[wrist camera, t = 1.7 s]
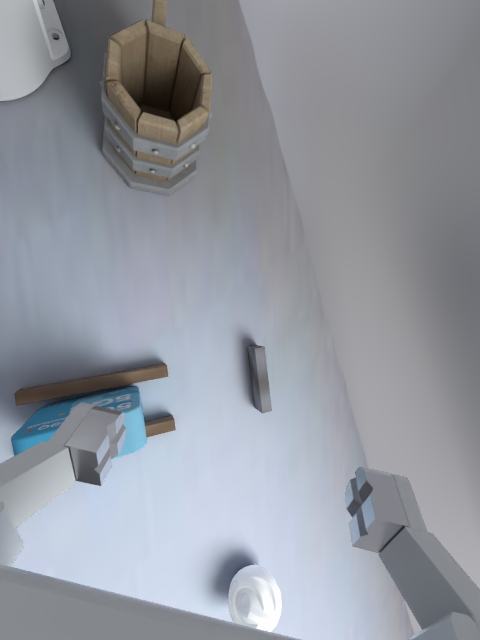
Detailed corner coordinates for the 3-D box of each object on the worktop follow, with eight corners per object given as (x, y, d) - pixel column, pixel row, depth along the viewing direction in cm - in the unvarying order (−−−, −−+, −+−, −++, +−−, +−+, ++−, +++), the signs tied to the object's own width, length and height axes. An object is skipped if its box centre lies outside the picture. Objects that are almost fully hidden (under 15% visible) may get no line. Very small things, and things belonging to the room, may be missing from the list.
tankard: (193, 201, 45) (222, 149, 31) (101, 183, 41) (85, 113, 27) (202, 68, 46) (234, -42, 31) (111, 37, 41) (101, -108, 27)
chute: (19, 386, 38) (10, 391, 35) (256, 345, 49) (264, 346, 46) (32, 463, 39) (24, 474, 36) (263, 405, 50) (271, 410, 47)
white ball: (236, 548, 48) (254, 589, 41) (274, 557, 51) (298, 597, 44) (214, 599, 47) (230, 651, 40) (255, 606, 50) (276, 656, 42)
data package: (138, 383, 43) (140, 407, 32) (143, 414, 43) (148, 449, 32) (41, 405, 39) (4, 442, 28) (47, 439, 39) (14, 488, 28)
